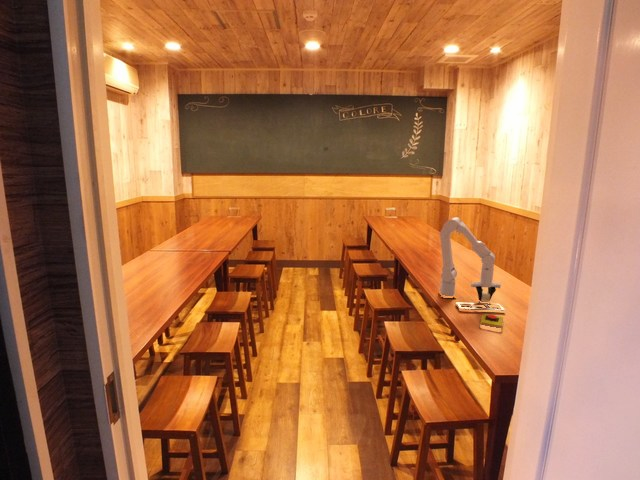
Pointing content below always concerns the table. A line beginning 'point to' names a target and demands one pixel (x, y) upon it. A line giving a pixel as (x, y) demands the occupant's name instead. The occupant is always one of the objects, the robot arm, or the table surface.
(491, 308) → the tan slotted board
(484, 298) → the birch peg
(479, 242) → the robot arm
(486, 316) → the emergency button
